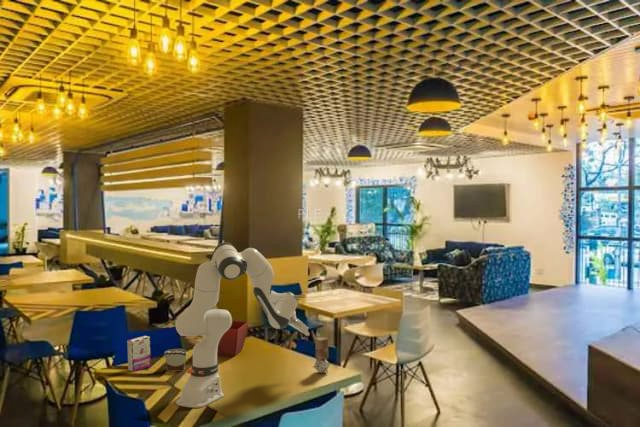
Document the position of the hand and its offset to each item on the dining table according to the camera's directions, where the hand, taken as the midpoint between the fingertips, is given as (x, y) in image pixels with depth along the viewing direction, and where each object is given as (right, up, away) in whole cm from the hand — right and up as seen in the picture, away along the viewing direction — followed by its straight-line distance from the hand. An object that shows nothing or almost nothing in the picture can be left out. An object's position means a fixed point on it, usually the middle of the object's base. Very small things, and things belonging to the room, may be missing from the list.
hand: (304, 332), depth 260 cm
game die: (+9, -22, +2) cm, 24 cm away
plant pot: (-46, -21, +38) cm, 64 cm away
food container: (-68, -22, +11) cm, 73 cm away
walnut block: (+9, -14, +2) cm, 16 cm away
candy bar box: (-89, -23, +12) cm, 93 cm away
